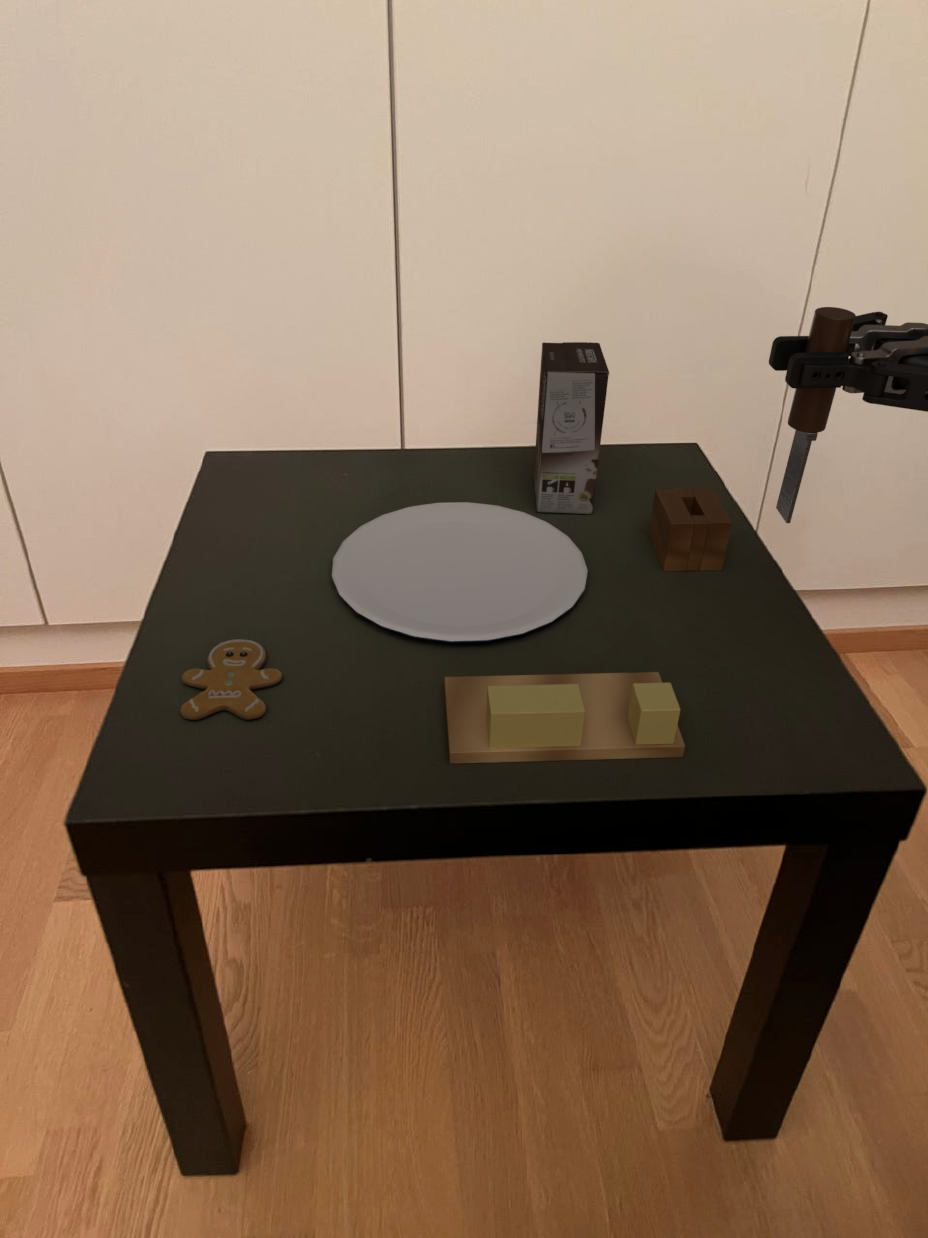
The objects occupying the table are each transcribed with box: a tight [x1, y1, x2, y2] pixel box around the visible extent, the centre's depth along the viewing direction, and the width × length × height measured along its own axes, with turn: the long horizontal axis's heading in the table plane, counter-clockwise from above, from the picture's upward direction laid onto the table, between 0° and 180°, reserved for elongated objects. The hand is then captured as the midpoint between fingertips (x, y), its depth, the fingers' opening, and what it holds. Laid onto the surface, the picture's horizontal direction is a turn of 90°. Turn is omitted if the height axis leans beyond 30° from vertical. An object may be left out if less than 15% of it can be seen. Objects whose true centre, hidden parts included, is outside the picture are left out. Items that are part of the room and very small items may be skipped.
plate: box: [331, 501, 589, 644], centre depth 93 cm, size 25×25×1 cm
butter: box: [486, 684, 585, 748], centre depth 72 cm, size 7×3×4 cm, turn 94°
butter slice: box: [627, 682, 681, 745], centre depth 73 cm, size 3×3×4 cm
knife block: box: [647, 488, 733, 572], centre depth 96 cm, size 6×7×6 cm
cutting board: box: [443, 671, 686, 765], centre depth 76 cm, size 18×9×1 cm, turn 93°
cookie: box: [179, 639, 283, 721], centre depth 79 cm, size 8×1×10 cm
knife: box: [775, 306, 857, 524], centre depth 67 cm, size 3×3×15 cm
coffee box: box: [533, 341, 610, 515], centre depth 102 cm, size 9×6×16 cm
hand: (782, 362), depth 64 cm, fingers closed on knife, 2 cm apart
